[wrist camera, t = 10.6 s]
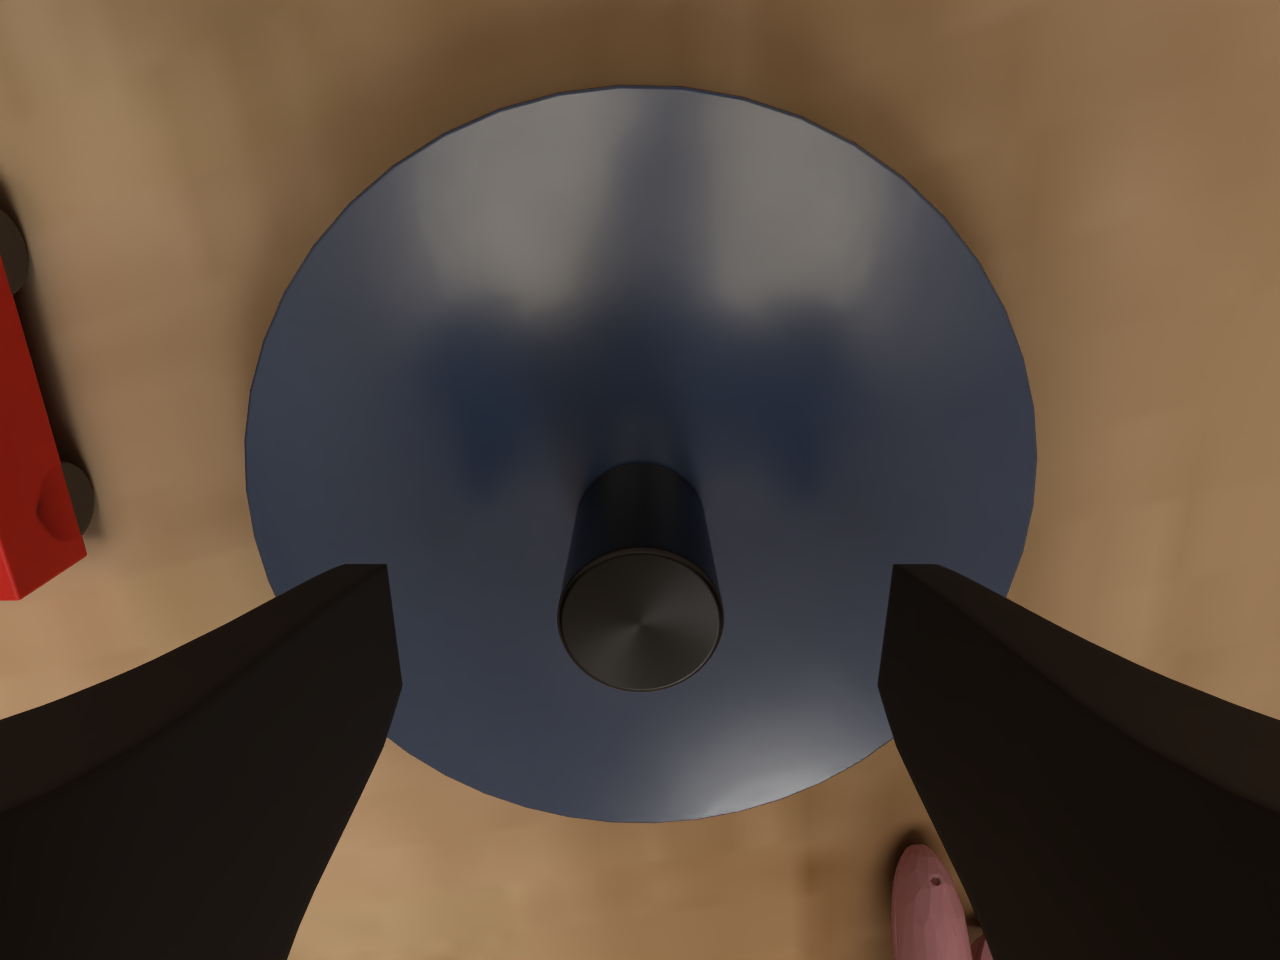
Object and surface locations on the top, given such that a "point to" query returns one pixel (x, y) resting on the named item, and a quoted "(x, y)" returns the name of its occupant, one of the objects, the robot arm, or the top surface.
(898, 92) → the top surface
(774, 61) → the top surface
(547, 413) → the lid
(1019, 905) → the robot arm
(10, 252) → the toy car
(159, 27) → the top surface
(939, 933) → the pink rounded figure
